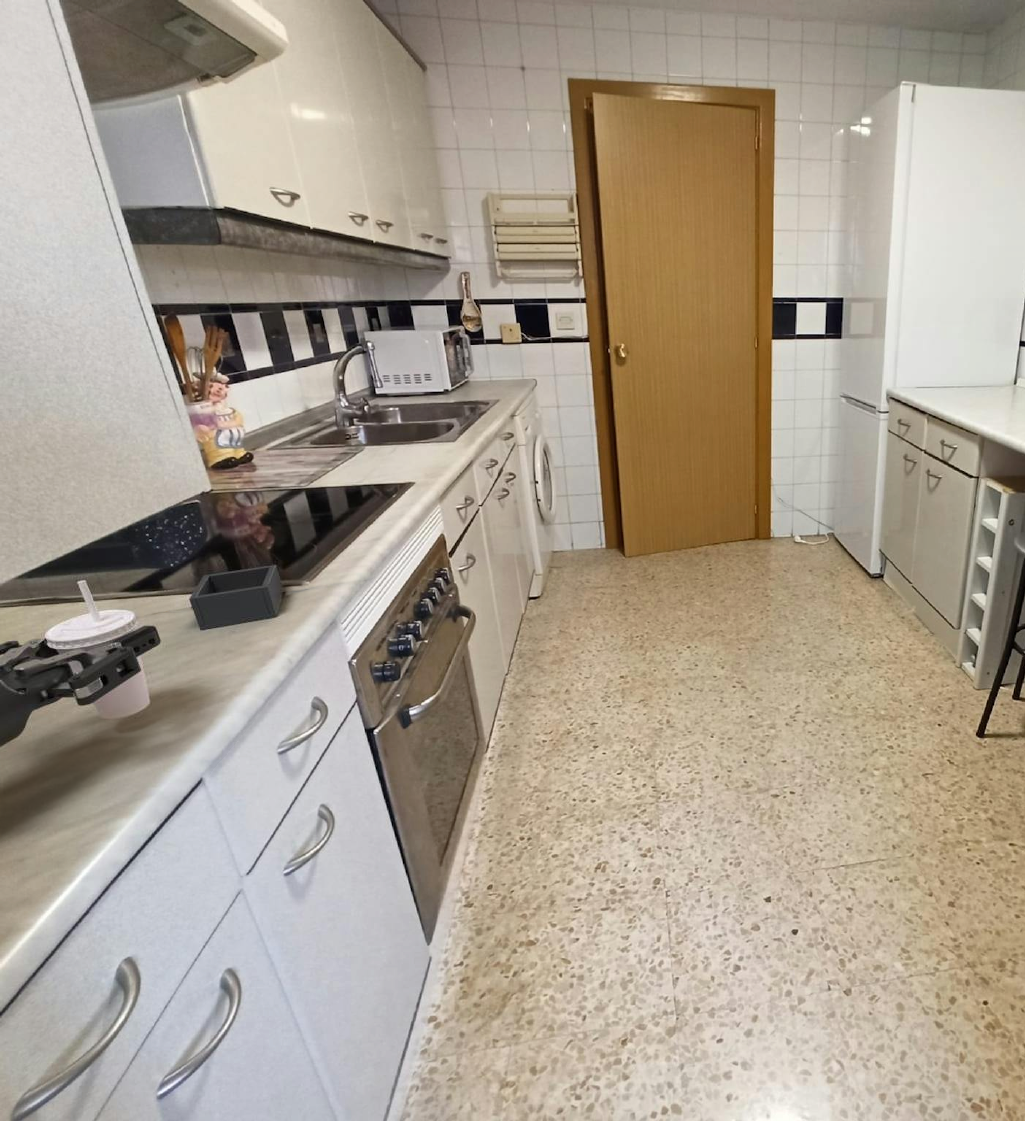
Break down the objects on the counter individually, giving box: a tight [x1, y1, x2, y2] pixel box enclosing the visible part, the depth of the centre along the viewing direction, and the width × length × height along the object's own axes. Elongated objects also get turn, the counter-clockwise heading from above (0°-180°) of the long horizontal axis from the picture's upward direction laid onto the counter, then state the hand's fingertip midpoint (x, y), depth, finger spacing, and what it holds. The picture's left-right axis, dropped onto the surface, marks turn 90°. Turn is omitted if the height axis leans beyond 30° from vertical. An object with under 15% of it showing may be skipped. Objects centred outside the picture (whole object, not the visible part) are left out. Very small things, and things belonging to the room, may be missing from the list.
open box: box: [188, 564, 285, 631], centre depth 89 cm, size 8×8×5 cm
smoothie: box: [44, 579, 151, 720], centre depth 63 cm, size 6×6×14 cm
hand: (121, 632), depth 65 cm, fingers closed on smoothie, 6 cm apart
